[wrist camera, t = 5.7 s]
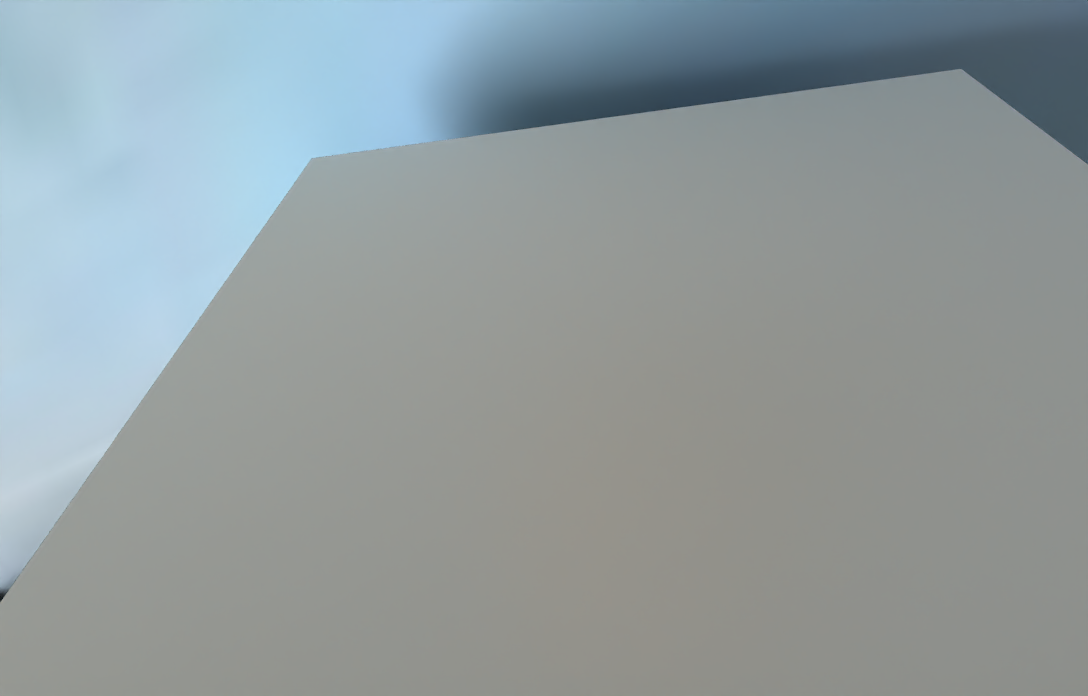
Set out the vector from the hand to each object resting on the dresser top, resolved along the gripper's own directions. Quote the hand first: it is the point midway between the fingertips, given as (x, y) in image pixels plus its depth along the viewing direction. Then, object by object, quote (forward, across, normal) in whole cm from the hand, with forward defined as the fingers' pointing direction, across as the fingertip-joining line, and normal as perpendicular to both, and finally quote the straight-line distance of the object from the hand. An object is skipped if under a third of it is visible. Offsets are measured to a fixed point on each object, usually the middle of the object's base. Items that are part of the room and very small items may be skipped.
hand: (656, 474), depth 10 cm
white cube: (+2, 0, 0) cm, 2 cm away
